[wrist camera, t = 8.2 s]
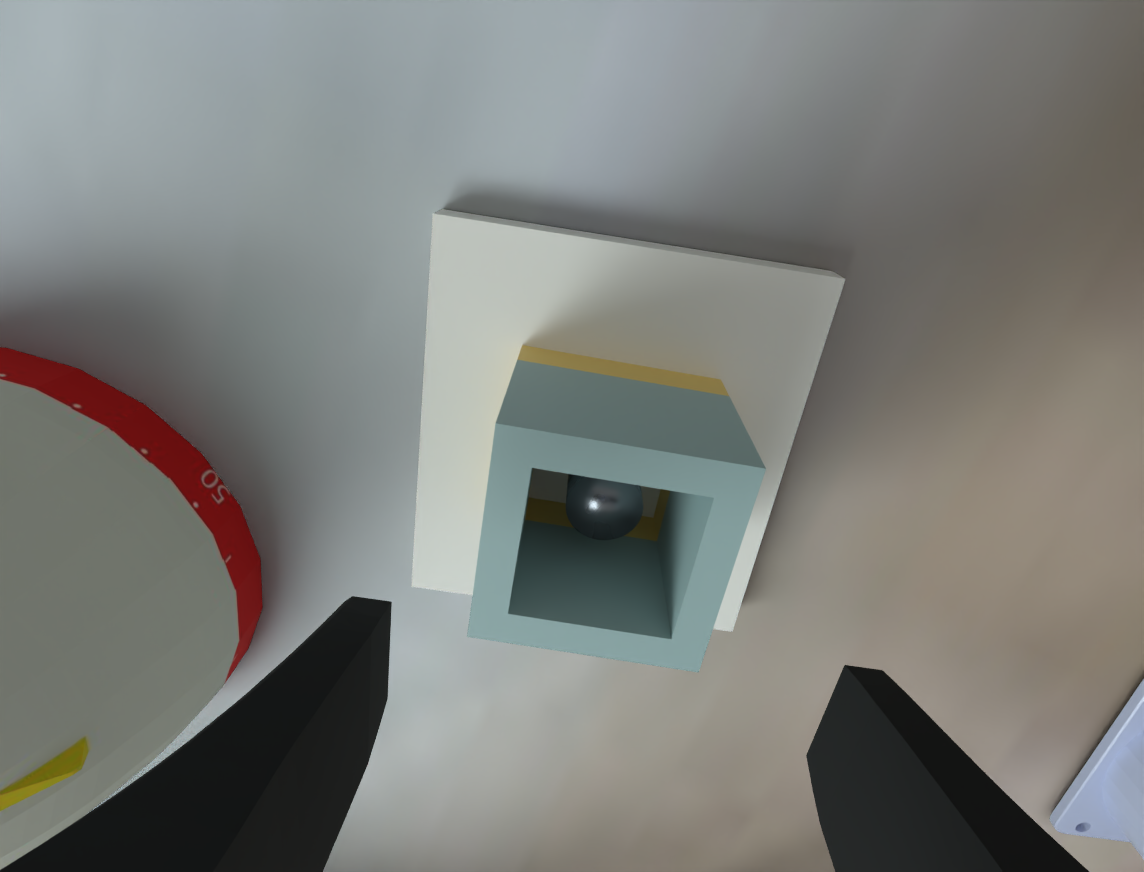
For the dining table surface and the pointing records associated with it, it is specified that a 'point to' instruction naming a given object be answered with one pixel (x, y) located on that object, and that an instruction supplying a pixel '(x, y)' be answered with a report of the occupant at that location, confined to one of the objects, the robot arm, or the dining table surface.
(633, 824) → the dining table surface
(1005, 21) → the dining table surface
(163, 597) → the kitchen timer
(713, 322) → the pin board
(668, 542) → the sleeve
